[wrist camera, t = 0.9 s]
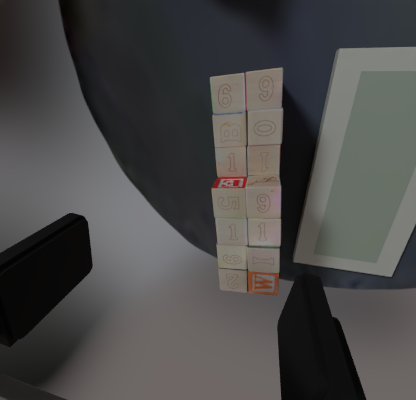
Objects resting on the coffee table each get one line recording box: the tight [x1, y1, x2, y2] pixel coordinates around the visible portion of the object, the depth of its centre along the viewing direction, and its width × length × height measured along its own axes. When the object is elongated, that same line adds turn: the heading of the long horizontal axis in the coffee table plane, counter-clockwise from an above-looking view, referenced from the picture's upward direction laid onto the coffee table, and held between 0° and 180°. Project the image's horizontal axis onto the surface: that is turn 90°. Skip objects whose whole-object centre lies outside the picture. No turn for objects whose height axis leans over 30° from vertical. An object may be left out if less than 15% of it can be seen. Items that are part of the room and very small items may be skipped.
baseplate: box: [293, 47, 416, 277], centre depth 27 cm, size 13×27×1 cm, turn 178°
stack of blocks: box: [210, 68, 283, 295], centre depth 25 cm, size 21×6×12 cm, turn 4°
